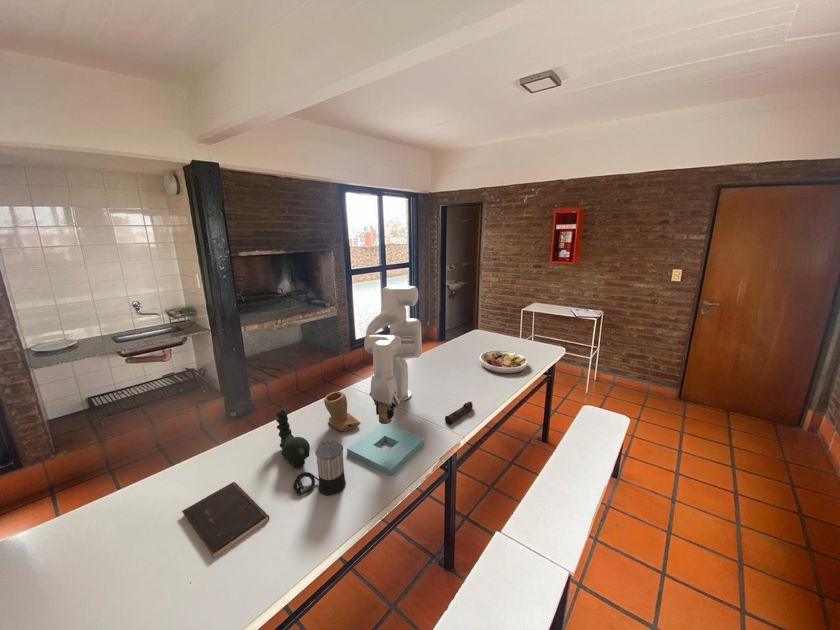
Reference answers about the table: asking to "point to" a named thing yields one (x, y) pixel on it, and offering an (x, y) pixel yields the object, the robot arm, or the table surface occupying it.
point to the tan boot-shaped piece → (339, 411)
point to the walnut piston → (383, 413)
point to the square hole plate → (380, 458)
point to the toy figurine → (291, 442)
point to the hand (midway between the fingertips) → (385, 414)
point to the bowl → (503, 361)
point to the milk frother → (326, 470)
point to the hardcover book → (225, 517)
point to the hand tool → (459, 413)
